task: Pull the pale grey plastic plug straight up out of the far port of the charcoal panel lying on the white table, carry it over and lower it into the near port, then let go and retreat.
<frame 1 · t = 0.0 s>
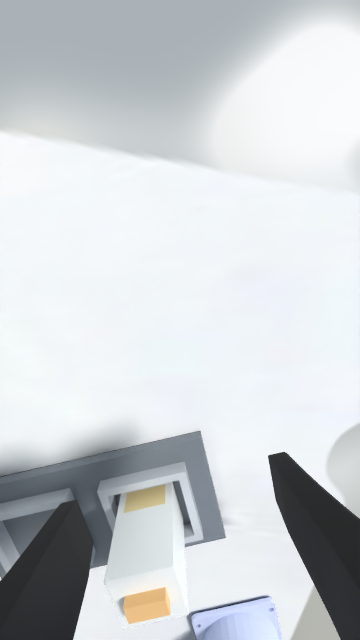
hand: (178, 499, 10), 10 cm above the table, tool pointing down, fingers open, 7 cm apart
plug: (153, 504, 21), point 1 cm above the table, touching panel
panel: (100, 507, 22), on the table
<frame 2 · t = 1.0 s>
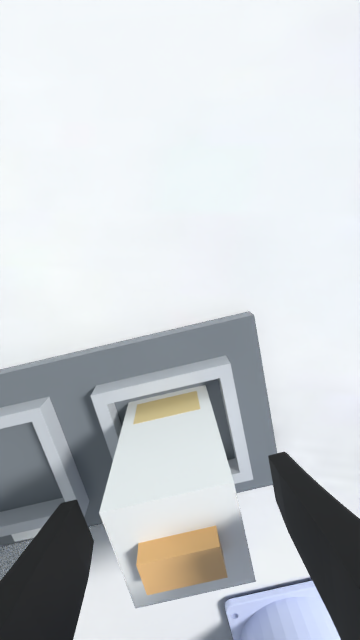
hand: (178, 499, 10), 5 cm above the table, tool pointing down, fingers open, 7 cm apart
plug: (175, 427, 14), point 1 cm above the table, touching panel
panel: (96, 436, 15), on the table
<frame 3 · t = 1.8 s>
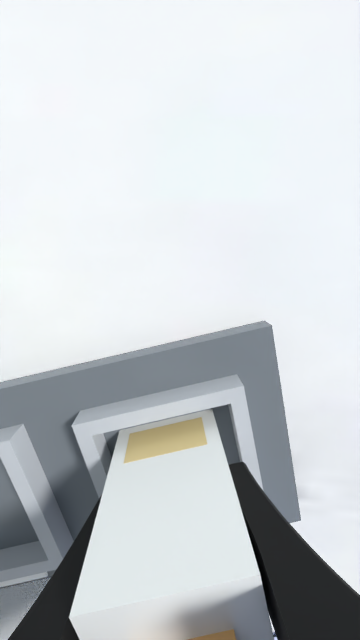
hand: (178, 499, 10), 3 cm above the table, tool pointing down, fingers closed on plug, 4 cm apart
plug: (176, 458, 12), point 1 cm above the table, touching gripper, panel
panel: (82, 467, 13), on the table
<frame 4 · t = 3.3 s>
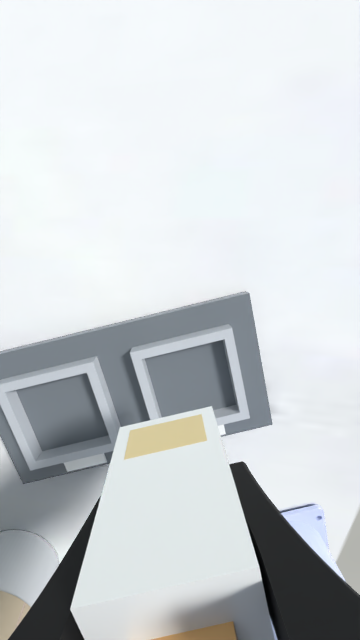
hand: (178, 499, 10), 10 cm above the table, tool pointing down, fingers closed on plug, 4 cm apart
coffee cup: (19, 559, 23), on the table
plug: (176, 455, 12), point 8 cm above the table, touching gripper
panel: (129, 389, 19), on the table
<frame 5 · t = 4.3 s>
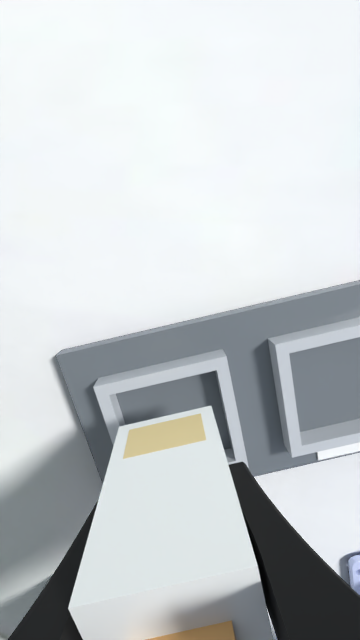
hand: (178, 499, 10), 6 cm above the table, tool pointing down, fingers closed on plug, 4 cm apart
plug: (175, 454, 12), point 4 cm above the table, touching gripper
panel: (250, 392, 15), on the table
when the fingers open (4 cm above the table, at t = 5.1 s): plug stays where it is, resting on panel.
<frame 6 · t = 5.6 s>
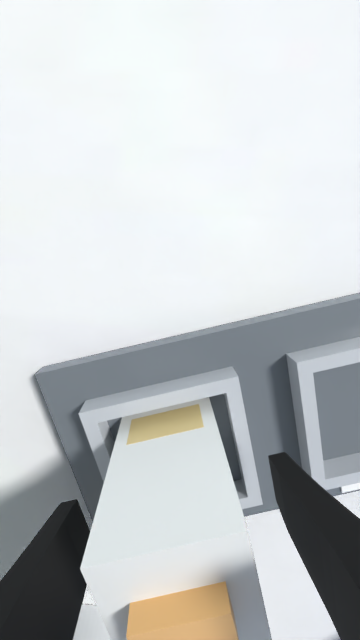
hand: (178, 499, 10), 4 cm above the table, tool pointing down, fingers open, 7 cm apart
coffee cup: (82, 639, 17), on the table
plug: (175, 443, 13), point 1 cm above the table, touching panel
panel: (263, 414, 13), on the table
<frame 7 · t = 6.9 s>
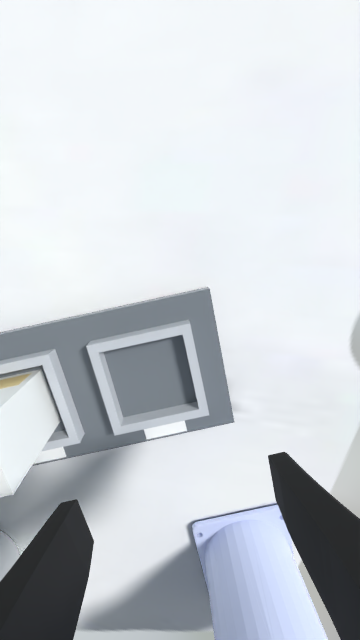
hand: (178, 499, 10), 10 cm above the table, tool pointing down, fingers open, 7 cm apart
plug: (23, 401, 18), point 1 cm above the table, touching panel
panel: (90, 383, 19), on the table
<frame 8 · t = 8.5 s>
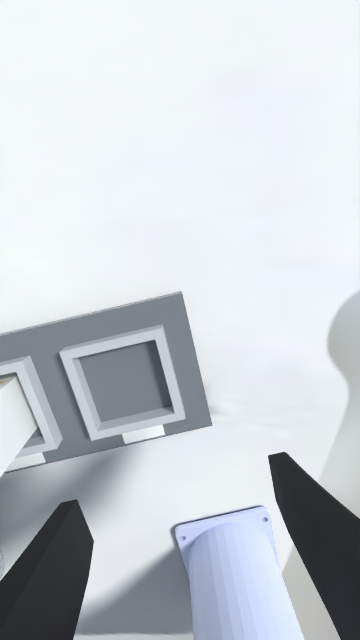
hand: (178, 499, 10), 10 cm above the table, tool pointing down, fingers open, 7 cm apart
plug: (0, 408, 18), point 1 cm above the table, touching panel
panel: (68, 389, 19), on the table
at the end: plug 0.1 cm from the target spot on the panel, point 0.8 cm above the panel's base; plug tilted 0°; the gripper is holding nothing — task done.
